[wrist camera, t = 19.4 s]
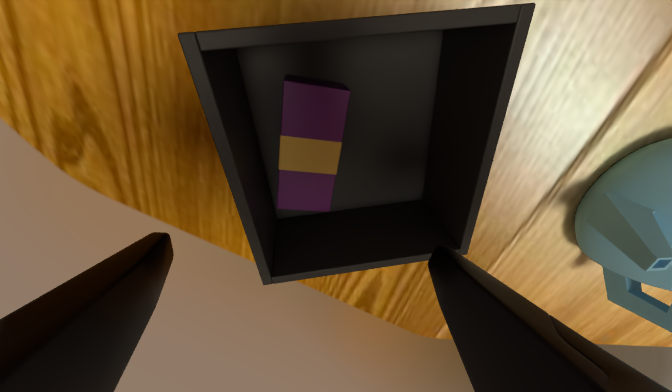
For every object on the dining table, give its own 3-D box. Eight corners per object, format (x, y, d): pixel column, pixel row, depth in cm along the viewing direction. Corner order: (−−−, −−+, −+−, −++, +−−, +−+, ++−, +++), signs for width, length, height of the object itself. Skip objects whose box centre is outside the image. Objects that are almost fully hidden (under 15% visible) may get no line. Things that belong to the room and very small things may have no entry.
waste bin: (272, 221, 21) (263, 285, 16) (222, 34, 14) (176, 33, 9) (425, 201, 22) (467, 254, 17) (450, 15, 15) (537, 2, 10)
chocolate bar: (326, 193, 20) (329, 212, 18) (278, 190, 19) (276, 209, 17) (344, 83, 16) (351, 90, 14) (284, 73, 15) (282, 80, 13)
